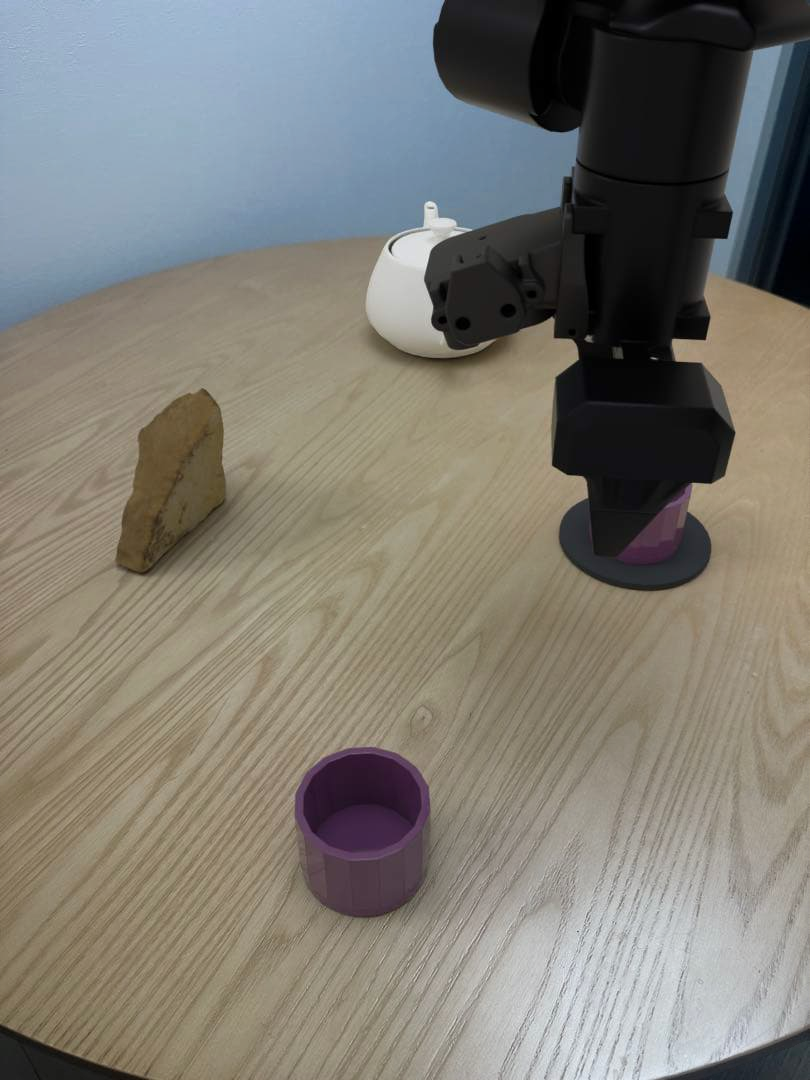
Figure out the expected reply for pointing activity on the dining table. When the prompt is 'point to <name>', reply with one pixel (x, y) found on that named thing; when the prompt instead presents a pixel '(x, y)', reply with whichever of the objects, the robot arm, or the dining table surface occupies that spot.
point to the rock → (173, 479)
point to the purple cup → (659, 534)
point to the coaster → (635, 576)
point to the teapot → (411, 290)
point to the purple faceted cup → (363, 830)
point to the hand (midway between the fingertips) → (600, 495)
